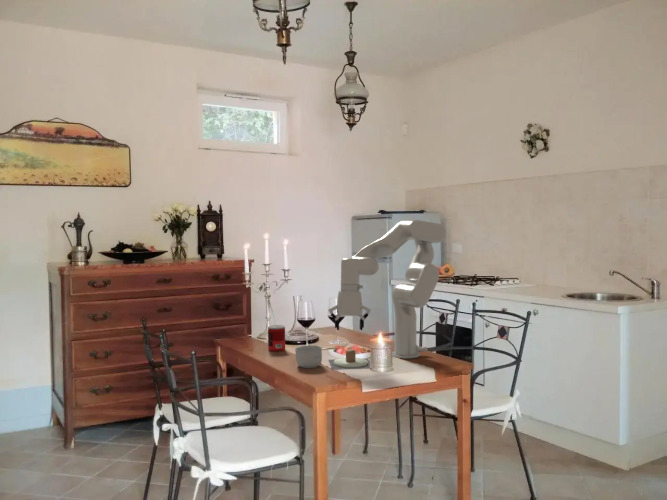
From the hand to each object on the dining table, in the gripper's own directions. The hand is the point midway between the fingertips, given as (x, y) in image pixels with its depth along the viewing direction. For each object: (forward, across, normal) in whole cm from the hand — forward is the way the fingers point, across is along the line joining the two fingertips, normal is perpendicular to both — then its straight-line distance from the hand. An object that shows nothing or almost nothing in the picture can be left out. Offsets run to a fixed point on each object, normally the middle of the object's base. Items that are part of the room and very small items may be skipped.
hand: (349, 329), depth 243 cm
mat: (+15, -1, 0) cm, 15 cm away
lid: (+14, -1, 0) cm, 14 cm away
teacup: (+15, +16, 0) cm, 22 cm away
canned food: (+15, +29, -33) cm, 47 cm away
